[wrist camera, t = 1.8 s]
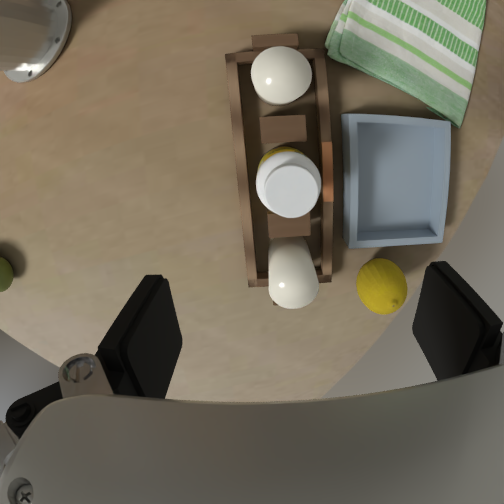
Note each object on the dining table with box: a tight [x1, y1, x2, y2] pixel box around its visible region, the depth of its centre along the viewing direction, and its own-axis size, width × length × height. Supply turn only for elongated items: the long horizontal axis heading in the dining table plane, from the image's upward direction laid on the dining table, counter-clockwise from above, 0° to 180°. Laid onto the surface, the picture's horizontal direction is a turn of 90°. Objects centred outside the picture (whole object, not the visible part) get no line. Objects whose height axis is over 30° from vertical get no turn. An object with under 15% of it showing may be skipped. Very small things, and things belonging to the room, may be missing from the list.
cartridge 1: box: [251, 46, 312, 106], centre depth 23 cm, size 4×4×8 cm
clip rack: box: [225, 33, 333, 305], centre depth 29 cm, size 27×9×4 cm, turn 5°
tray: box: [341, 114, 451, 249], centre depth 29 cm, size 14×12×3 cm
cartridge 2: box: [268, 236, 319, 309], centre depth 31 cm, size 4×4×8 cm
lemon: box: [356, 258, 407, 314], centre depth 31 cm, size 6×6×8 cm
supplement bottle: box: [256, 146, 321, 218], centre depth 26 cm, size 5×5×10 cm
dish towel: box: [325, 0, 486, 128], centre depth 20 cm, size 18×23×3 cm
